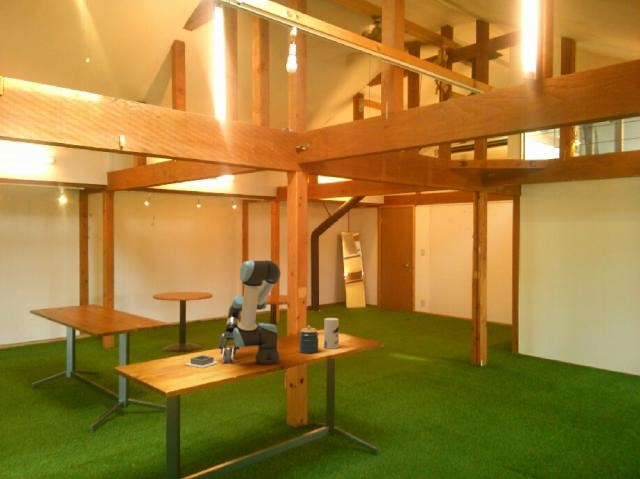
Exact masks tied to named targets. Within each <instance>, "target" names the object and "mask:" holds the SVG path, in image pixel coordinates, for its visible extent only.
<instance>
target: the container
mask: <svg viewBox="0 0 640 479" xmlns="http://www.w3.org/2000/svg"><path fill="white" fill-rule="evenodd" d="M323 320H324V323H323V324H324V325H323V329H324V330H323V332H324V334H323V336H324V337H323V341H324V342H323V346H324V347H323V348H325V349H328V350H331V349H332V350H334V349H338V348H339V339H340V338H339V337H340V336H339V334H340V332H339V329H340V328H339V326H340V325H339V323H340V322H339V318H338V317H337V318H336V317H326V318H324V319H323Z"/></svg>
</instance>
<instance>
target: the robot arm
mask: <svg viewBox="0 0 640 479" xmlns="http://www.w3.org/2000/svg"><path fill="white" fill-rule="evenodd" d="M280 277H281V269H280V266H279V265H278V264H277V263H276V262H275V261H272V260H269V259H268V260H252V259H251V260H246V261H243V263H242V264H241V265H240V269H239V279H240V281H241V283H242V284H243V286H244V288H243V295H242V296H241V295H237V296H235V297H234V298H233V300H232V302H231V305H229V309H228V315H227V321H226V326H225V331H224V333H219V336H220V338H219V344H218V349H219V350H220V354H221V359H222V361H224V348H225V347H227V344H228V342H229V340H232V343H233V349H232V355H231V359H232V360H233V361H234V356H235V355H236V353H237V350H240V348H246V347H248V348H249V347H257V351H256V355H255V358H254V363H255V364H257V365H264V366H265V365H276V364H278V363H280V362H281V360H280V359H281V357H280V354H279V351H278V328H277V327H278V326H277V325H276V324H272V323H268V322H267V323H266V322H259V323H256V318H257V311H261V310H265V309H266V307H267V298H268V297H269V295H270V292H271V291H272V290H273V288H274V285H276V284H277V283H278V282H279V280H280ZM224 337H225V339H224Z"/></svg>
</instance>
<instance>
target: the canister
mask: <svg viewBox="0 0 640 479" xmlns="http://www.w3.org/2000/svg"><path fill="white" fill-rule="evenodd" d="M298 335H299V338H298V339H299V346H298V350H299V352H300V353H301V354H307V355H308V354H316V353H318V352H319V333H318V330H317V329H316V328H315V327H312V326H311V325H310V324H309V325H307V326H306V327H303V328H302V329H300V333H299V334H298Z"/></svg>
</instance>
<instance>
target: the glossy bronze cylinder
mask: <svg viewBox="0 0 640 479" xmlns="http://www.w3.org/2000/svg"><path fill="white" fill-rule="evenodd" d="M233 348H234V346H233V347H232V346H225V348H224V360H223V362H224V364H227V365H228V364H232V363H233V362H234V359H233V360H232V359H231V355H232V349H233Z"/></svg>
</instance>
